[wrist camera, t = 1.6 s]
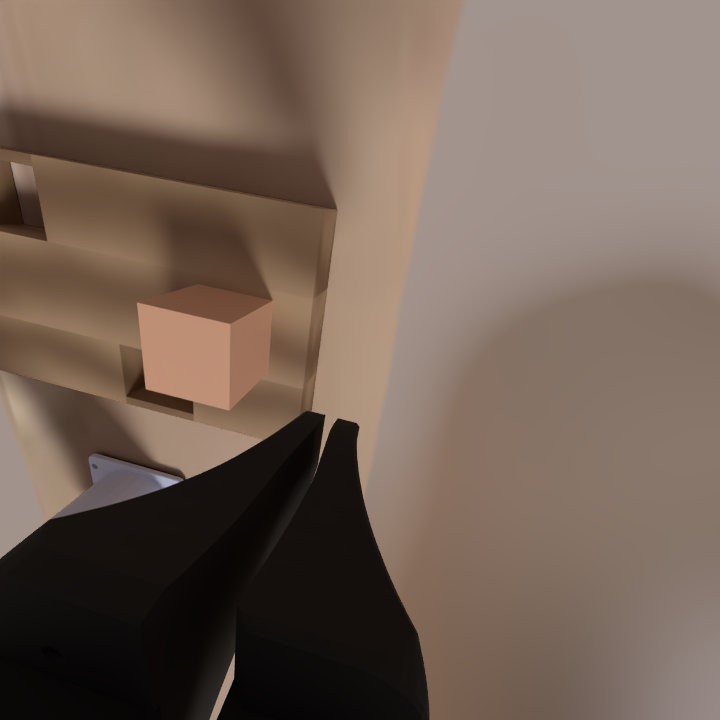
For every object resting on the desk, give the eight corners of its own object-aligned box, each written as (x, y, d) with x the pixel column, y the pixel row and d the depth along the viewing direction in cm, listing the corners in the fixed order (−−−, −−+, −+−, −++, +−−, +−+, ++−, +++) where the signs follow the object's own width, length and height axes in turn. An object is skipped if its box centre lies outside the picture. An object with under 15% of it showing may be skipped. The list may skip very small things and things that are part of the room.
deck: (309, 424, 23) (275, 484, 18) (-42, 334, 25) (-157, 364, 20) (337, 209, 17) (299, 208, 12) (-111, 125, 20) (-289, 96, 15)
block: (268, 372, 19) (229, 410, 15) (199, 355, 19) (145, 389, 16) (273, 300, 17) (230, 324, 14) (197, 284, 18) (137, 302, 14)
